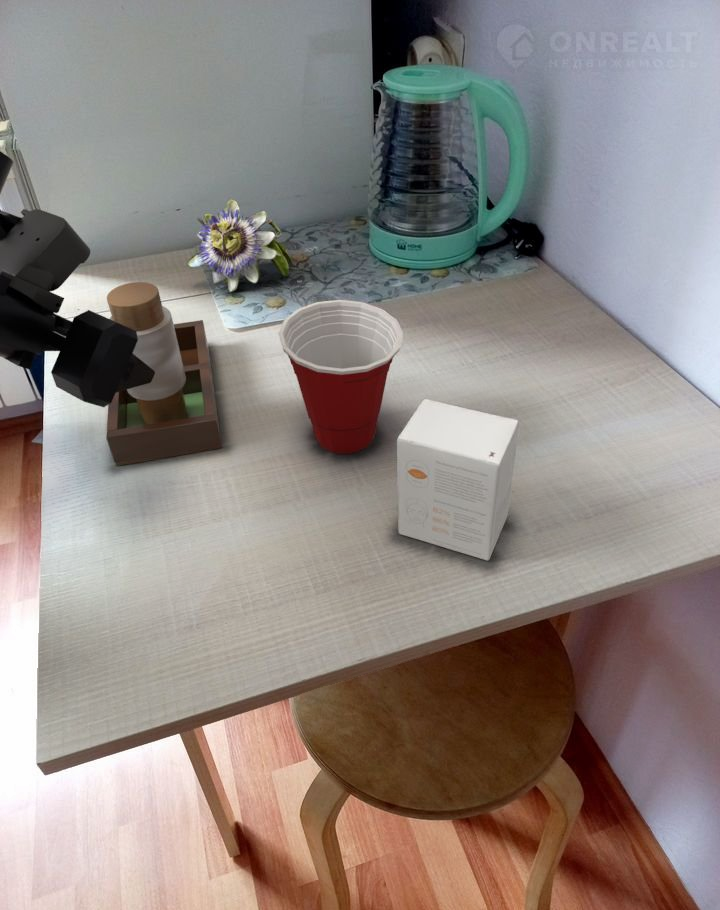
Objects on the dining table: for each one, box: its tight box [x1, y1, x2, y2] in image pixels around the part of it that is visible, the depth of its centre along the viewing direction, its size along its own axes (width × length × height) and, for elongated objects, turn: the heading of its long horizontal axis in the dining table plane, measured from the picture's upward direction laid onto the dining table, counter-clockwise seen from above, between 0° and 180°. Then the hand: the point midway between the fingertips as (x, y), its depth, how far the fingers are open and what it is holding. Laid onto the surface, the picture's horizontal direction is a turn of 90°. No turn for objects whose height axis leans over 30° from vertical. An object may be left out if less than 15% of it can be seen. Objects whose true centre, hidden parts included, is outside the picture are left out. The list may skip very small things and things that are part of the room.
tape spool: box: [106, 281, 189, 425], centre depth 66 cm, size 6×6×14 cm
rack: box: [105, 319, 223, 467], centre depth 73 cm, size 19×10×4 cm, turn 13°
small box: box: [396, 398, 520, 561], centre depth 56 cm, size 8×6×10 cm
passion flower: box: [186, 198, 294, 293], centre depth 93 cm, size 11×11×12 cm
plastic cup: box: [278, 299, 404, 455], centre depth 65 cm, size 11×11×12 cm
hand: (117, 360), depth 63 cm, fingers open, 9 cm apart
